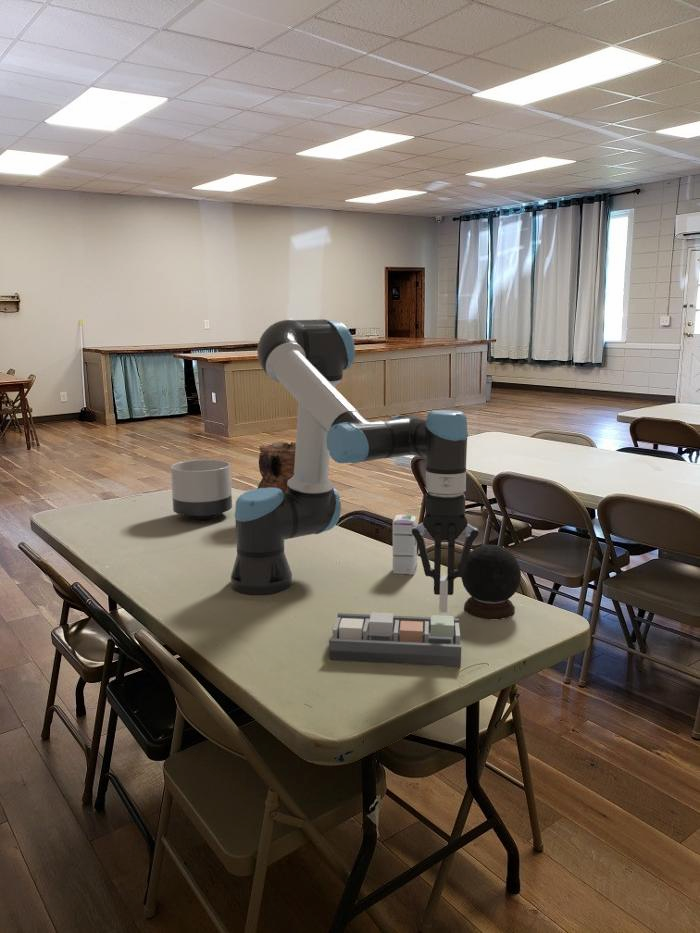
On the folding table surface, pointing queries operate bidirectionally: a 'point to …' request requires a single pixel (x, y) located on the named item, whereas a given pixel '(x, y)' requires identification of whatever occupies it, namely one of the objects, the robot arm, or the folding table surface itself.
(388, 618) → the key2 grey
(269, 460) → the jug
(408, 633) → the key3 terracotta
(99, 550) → the folding table surface
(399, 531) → the syrup box
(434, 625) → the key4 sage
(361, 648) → the keypad board
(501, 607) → the black ball on stand
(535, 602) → the folding table surface
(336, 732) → the folding table surface
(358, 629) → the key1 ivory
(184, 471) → the planter
